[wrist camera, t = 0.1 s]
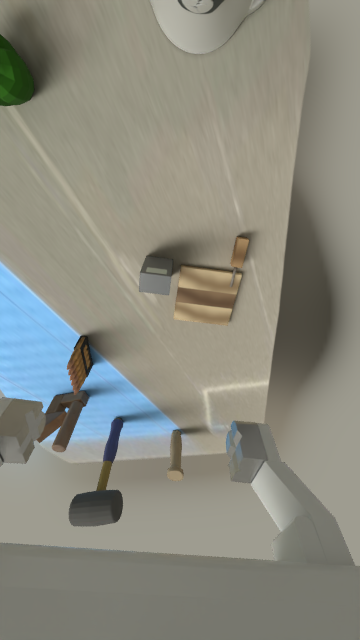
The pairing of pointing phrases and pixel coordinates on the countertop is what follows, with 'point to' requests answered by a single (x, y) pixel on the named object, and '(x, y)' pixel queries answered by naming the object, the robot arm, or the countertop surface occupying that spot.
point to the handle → (175, 457)
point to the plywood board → (205, 295)
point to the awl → (238, 255)
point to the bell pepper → (13, 76)
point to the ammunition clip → (80, 363)
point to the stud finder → (156, 275)
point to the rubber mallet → (100, 491)
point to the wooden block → (63, 418)
